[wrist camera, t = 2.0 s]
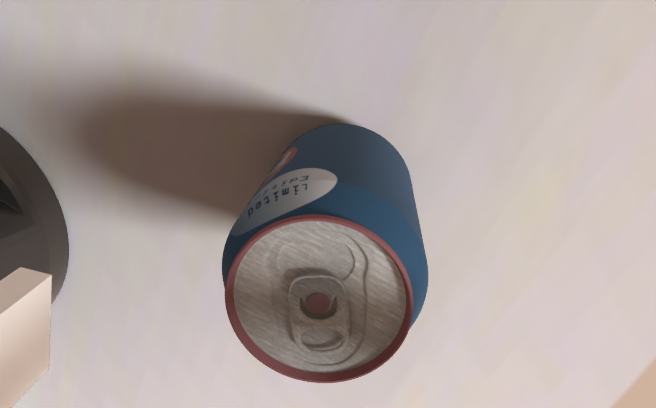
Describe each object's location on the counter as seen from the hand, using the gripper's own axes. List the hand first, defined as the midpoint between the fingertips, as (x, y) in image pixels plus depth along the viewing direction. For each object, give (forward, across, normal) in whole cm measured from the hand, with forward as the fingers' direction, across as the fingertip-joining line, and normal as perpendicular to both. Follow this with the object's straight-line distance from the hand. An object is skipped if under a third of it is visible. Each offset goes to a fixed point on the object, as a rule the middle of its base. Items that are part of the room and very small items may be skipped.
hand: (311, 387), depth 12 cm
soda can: (+16, 0, 0) cm, 16 cm away
